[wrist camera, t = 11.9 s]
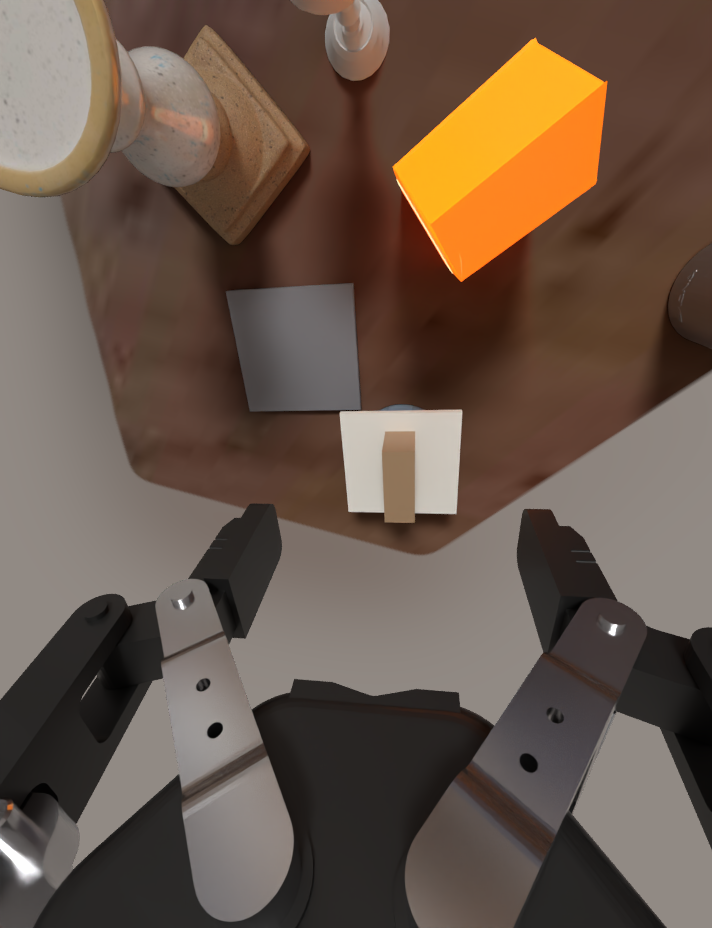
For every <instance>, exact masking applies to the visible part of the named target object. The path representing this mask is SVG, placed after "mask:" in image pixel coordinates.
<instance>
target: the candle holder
mask: <svg viewBox="0 0 712 928" xmlns="http://www.w3.org/2000/svg"><path fill="white" fill-rule="evenodd" d="M119 151H122V153H123V154H124V156H125V157H126V158H127V159H128V160H129V162H130V163H131V164H132V165H133V166H134V167H135V168H136V169H137V170H139V171H140V172H141V173H142V174H143V175H145V176H146V177H148V178H149V179H151V180H153V181H155V182H157V183H159V184H162V185H165V186H169V187H174V188H175V189H176V190H177V191H178V192H179V193H180V194H181V195H182V196H183V197H184V198H185V199H186V201H187V202H188V203H189V204H190V205H191V206H192V207H193V208H194V209H195V210H196V211H197V212H198V213H199V214H200V215H201V216H202V217H203V219H204V220H205V221H206V222H207V223H208V224H209V225H210V226H211V227H212V228H213V229H214V230H215V231H216V232H217V233H218V234H219V235H220V236H221V237H222V238H223V239H224V240H225V241H226V242H228V243H229V244H231V245H238V244H240V243H241V242H242V241H243V240H244V239H245V238H246V237H247V235H248V234H249V233H250V232H251V231H252V229H253V228H254V227H255V225H256V224H257V223H258V221H259V220H260V219H261V217H262V216H263V215H264V214H265V212H266V211H267V210H268V208H269V207H270V206H271V204H272V203H273V202H274V200H275V199H276V198H277V196H278V195H279V194H280V193H281V191H282V190H283V189H284V187H285V186H286V185H287V183H288V182H289V181H290V179H291V178H292V177H293V176H294V174H295V173H296V172H297V170H298V169H299V168H300V166H301V165H302V163H303V162H304V160H305V159H306V157H307V156H308V154H309V151H310V148H309V146H308V144H307V143H306V141H305V140H304V138H303V137H302V136H301V134H300V133H299V132H298V130H297V129H296V128H295V127H294V125H293V124H292V123H291V122H290V121H289V119H288V118H287V117H286V116H285V114H284V113H283V112H282V111H281V109H280V108H279V107H278V106H277V105H276V103H275V102H274V101H273V100H272V98H271V97H270V96H269V95H268V94H267V92H266V91H265V90H264V89H263V87H262V86H261V85H260V84H259V82H258V81H257V80H256V79H255V78H254V76H253V75H252V74H251V73H250V71H249V70H248V69H247V68H246V67H245V65H244V64H243V63H242V62H241V60H240V59H239V58H238V57H237V55H236V54H235V53H234V52H233V51H232V50H231V48H230V47H229V46H228V45H227V44H226V43H225V42H224V41H223V39H222V38H221V37H220V36H219V35H218V34H217V33H216V32H215V31H214V30H212V29H211V28H210V27H208V26H207V25H205V26H204V27H203V28H202V30H201V31H200V33H199V34H198V36H197V37H196V39H195V40H194V42H193V43H192V45H191V47H190V49H189V50H188V52H187V54H186V55H185V57H184V59H183V58H182V57H180V56H179V55H177V54H175V53H173V52H171V51H169V50H166V49H163V48H160V47H152V46H146V47H139V48H135V49H133V50H130V51H128V52H127V51H126V50H125V48H124V47H123V46H122V45H121V43H120V42H119V41H118V40H117V39H116V38H115V33H114V29H113V25H112V21H111V18H110V15H109V12H108V10H107V7H106V4H105V1H104V0H0V189H2V190H6V191H9V192H13V193H16V194H19V195H23V196H31V197H52V196H60V195H63V194H66V193H69V192H72V191H75V190H76V189H78V188H80V187H81V186H83V185H85V184H86V183H88V182H89V181H90V180H91V179H92V178H93V177H94V176H95V175H96V174H97V173H98V172H99V171H100V169H101V167H102V166H103V164H104V163H105V161H106V160H107V158H108V156H109V154H110V153H113V152H119Z"/></svg>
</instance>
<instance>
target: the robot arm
mask: <svg viewBox="0 0 712 928" xmlns="http://www.w3.org/2000/svg"><path fill="white" fill-rule="evenodd" d="M668 314H669V318H670V321H671V324H672V326H673V327H674V328H675V330H676V331H677V332H678V333H679V334H680V335H681V336H683V337H684V338H686V339H688V340H691V341H693V342H695V343H698V344H700V345H703V346H705V347H708V348H710V349H712V244H710V245H708V246H707V247H705V248H704V249H702V250H701V251H700V252H699V253H697V254H696V255H695V256H694V257H693V258H692V259H691V260H690V261H689V262H688V263H687V264H686V266H685V267H684V268H683V269H682V270H681V272H680V274H679V275H678V277H677V279H676V280H675V282H674V284H673V287H672V289H671V292H670V296H669V302H668ZM281 550H282V541H281V536H280V530H279V526H278V520H277V515H276V510H275V507H274V505H273V504H250V505H249V506H248V507H247V509H246V510H245V512H244V514H243V515H242V517H241V518H234V519H233V520H231V521H230V522H229V523H228V524H226V525H225V526H224V527H222V529H221V531H220V532H219V533H218V535H217V536H216V540H214V541H213V543H212V544H211V546H210V549H208V550H207V552H206V553H205V554H204V556H203V558H202V559H201V561H200V562H199V564H198V565H197V567H196V568H195V569H194V571H193V573H192V574H191V575H190V577H189V578H188V579H186V580H182V581H179V582H177V583H174V584H172V585H171V586H169V587H168V588H166V589H165V590H164V591H163V592H162V593H161V594H160V596H159V597H158V598H157V600H156V601H152V602H147V603H142V604H137V605H133V606H128V605H127V603H126V601H125V599H124V598H123V597H122V596H120V595H117V594H106V595H102V596H99V597H96V598H94V599H91V600H90V601H88V602H86V603H84V604H83V605H82V606H80V607H79V608H78V609H77V610H76V611H75V612H74V613H73V614H72V615H71V617H70V618H69V619H68V620H67V621H66V622H65V624H64V625H63V626H62V627H61V628H60V630H59V631H58V632H57V633H56V634H55V636H54V637H53V638H52V639H51V640H50V641H49V643H48V644H47V645H46V646H45V648H44V649H43V650H42V651H41V652H40V654H39V655H38V656H37V657H36V658H35V659H34V661H33V662H32V663H31V664H30V665H29V667H28V668H27V669H26V670H25V671H24V672H23V674H22V675H21V676H20V677H19V678H18V680H17V681H16V682H15V683H14V684H13V686H12V687H11V688H10V689H9V690H8V692H7V693H6V694H5V695H4V696H3V698H2V699H1V700H0V928H666V926H665V925H664V924H663V923H662V922H661V920H660V919H659V918H658V917H657V916H656V914H655V913H654V912H653V911H652V910H651V909H650V907H649V906H648V905H647V904H646V903H645V901H644V900H643V899H642V898H641V897H640V895H639V894H638V893H637V892H636V891H635V889H634V888H633V887H632V886H631V884H630V883H629V882H628V881H627V880H626V878H625V877H624V876H623V875H622V874H621V873H620V871H619V870H618V869H617V868H616V866H615V865H614V864H613V863H612V862H611V861H610V859H609V858H608V857H607V856H606V855H605V854H604V852H603V851H602V850H601V849H600V847H599V846H598V845H597V844H596V843H595V841H594V840H593V839H592V838H591V837H590V835H589V834H588V833H587V832H586V831H585V830H584V828H583V827H582V826H581V825H580V824H579V822H578V821H577V820H576V819H575V818H574V816H573V812H574V810H575V808H576V805H577V803H578V801H579V798H580V796H581V794H582V791H583V789H584V786H585V784H586V782H587V779H588V777H589V774H590V772H591V770H592V767H593V765H594V763H595V760H596V758H597V756H598V754H599V751H600V749H601V747H602V744H603V742H604V740H605V738H606V735H607V733H608V731H609V729H610V726H611V724H612V721H613V719H614V717H615V715H616V713H617V712H620V713H623V714H625V715H628V716H631V717H633V718H636V719H639V720H642V721H644V722H647V723H650V724H652V725H655V726H658V727H660V729H661V731H662V734H663V736H664V738H665V741H666V743H667V745H668V748H669V750H670V752H671V755H672V757H673V759H674V762H675V764H676V767H677V769H678V771H679V774H680V776H681V778H682V781H683V783H684V785H685V788H686V790H687V792H688V795H689V797H690V799H691V802H692V804H693V806H694V809H695V811H696V813H697V816H698V818H699V820H700V823H701V825H702V827H703V830H704V832H705V835H706V837H707V839H708V841H709V844H710V846H711V849H712V628H709V627H708V628H701V629H698V630H696V631H695V632H694V633H693V634H692V636H691V638H690V639H687V638H683V637H680V636H676V635H672V634H669V633H665V632H662V631H659V630H656V629H653V628H650V627H648V626H646V624H645V622H644V621H643V619H642V618H641V617H640V616H639V615H638V614H637V613H636V612H635V611H634V610H633V609H631V608H630V607H628V606H626V605H625V604H623V603H620V602H618V601H617V599H616V597H615V595H614V593H613V592H612V590H611V588H610V586H609V584H608V582H607V580H606V579H605V577H604V575H603V573H602V571H601V570H600V568H599V566H598V564H597V563H596V560H595V558H594V557H593V555H592V553H590V549H589V547H588V545H587V544H586V542H585V540H584V538H583V537H582V536H580V535H579V534H578V533H577V532H576V531H575V530H574V529H572V528H571V527H570V526H559V525H558V523H557V521H556V519H555V516H554V514H553V512H552V511H551V510H548V509H544V510H543V509H524V511H523V513H522V519H521V526H520V532H519V540H518V547H517V563H518V568H519V572H520V575H521V579H522V582H523V585H524V589H525V592H526V595H527V599H528V602H529V605H530V609H531V612H532V615H533V618H534V622H535V626H536V629H537V632H538V636H539V639H540V642H541V645H542V649H543V652H544V653H543V654H542V655H541V656H540V658H539V659H538V661H537V662H536V664H535V665H534V667H533V668H532V670H531V672H530V673H529V674H528V676H527V677H526V679H525V681H524V682H523V683H522V685H521V687H520V688H519V689H518V691H517V693H516V694H515V696H514V697H513V699H512V700H511V702H510V703H509V705H508V706H507V708H506V709H505V711H504V712H503V714H502V715H501V717H500V718H499V720H498V721H497V723H496V724H495V726H494V725H493V724H491V723H490V722H489V721H487V720H485V719H484V718H483V717H481V716H479V715H478V714H476V713H474V712H471V711H470V710H467V709H465V708H462V707H460V702H459V693H457V692H445V691H433V690H421V689H414V690H409V691H403V692H397V693H391V694H385V695H379V696H370V695H367V694H364V693H361V692H359V691H356V690H353V689H350V688H347V687H345V686H342V685H339V684H336V683H333V682H323V681H311V680H310V681H309V680H298V679H294V682H293V686H292V689H291V693H286V694H282V695H279V696H276V697H274V698H271V699H269V700H267V701H265V702H263V703H261V704H260V705H258V706H256V707H255V708H253V709H252V710H251V707H250V704H249V701H248V698H247V695H246V693H245V690H244V687H243V684H242V681H241V678H240V676H239V673H238V670H237V667H236V664H235V661H234V658H233V656H232V653H231V650H230V647H229V643H230V641H231V639H232V638H246V636H247V634H248V632H249V629H250V627H251V625H252V622H253V620H254V618H255V615H256V613H257V611H258V608H259V606H260V604H261V601H262V599H263V596H264V594H265V592H266V589H267V587H268V585H269V582H270V580H271V578H272V576H273V573H274V571H275V569H276V566H277V564H278V561H279V559H280V556H281ZM96 675H97V678H96V679H95V680H94V682H93V683H92V685H91V687H90V688H89V689H88V691H87V693H86V694H85V696H84V697H83V699H82V700H81V698H82V696H83V694H84V693H85V691H86V690H87V688H88V687H89V685H90V684H91V682H92V680H93V679H94V678H95V676H96ZM162 678H163V680H164V686H165V692H166V698H167V703H168V710H169V716H170V721H171V727H172V733H173V739H174V745H175V751H176V757H177V763H178V769H179V775H177V776H176V777H175V778H174V779H173V780H172V781H171V782H169V784H167V785H166V786H165V787H164V788H163V789H162V790H161V791H159V792H158V793H157V794H156V795H155V796H154V797H153V798H152V799H151V800H149V801H148V802H147V803H146V804H145V805H144V806H143V807H142V808H140V809H139V810H138V811H137V812H136V813H135V814H134V815H133V816H132V817H131V818H129V819H128V820H127V821H126V822H125V823H124V824H123V825H121V826H120V827H119V828H118V829H117V830H116V831H115V832H114V833H112V834H111V835H110V836H109V837H108V838H107V839H106V840H105V841H104V842H102V843H101V844H100V845H99V846H98V847H97V848H96V849H95V850H93V851H92V852H91V853H90V854H89V855H88V856H87V857H86V858H85V859H84V860H83V861H82V862H81V863H80V864H78V865H77V866H76V867H75V868H74V869H73V866H72V864H73V861H74V859H75V856H76V854H77V851H78V847H79V840H80V835H79V829H78V827H77V825H76V823H77V821H78V819H79V818H80V816H81V814H82V812H83V810H84V808H85V807H86V805H87V803H88V801H89V799H90V797H91V795H92V793H93V792H94V790H95V788H96V786H97V784H98V782H99V780H100V778H101V776H102V775H103V773H104V771H105V769H106V767H107V765H108V763H109V761H110V760H111V758H112V756H113V754H114V752H115V750H116V748H117V746H118V745H119V743H120V741H121V739H122V737H123V735H124V733H125V731H126V729H127V728H128V725H129V724H130V722H131V720H132V718H133V716H134V715H135V713H136V711H137V709H138V707H139V705H140V703H141V701H142V700H143V697H144V696H145V694H146V692H147V690H148V688H149V686H150V685H151V683H152V681H153V680H158V679H162ZM80 701H81V702H80ZM72 869H73V870H72Z"/></svg>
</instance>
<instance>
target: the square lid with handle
mask: <svg viewBox="0 0 712 928" xmlns="http://www.w3.org/2000/svg"><path fill="white" fill-rule="evenodd" d="M340 422H341V433H342V444H343V455H344V466H345V477H346V488H347V499H348V509H349V512H384V517H385V522H393V523H415V513H432V514H456V510H457V493H458V476H459V459H460V442H461V425H462V410H406V411H341V412H340Z"/></svg>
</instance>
